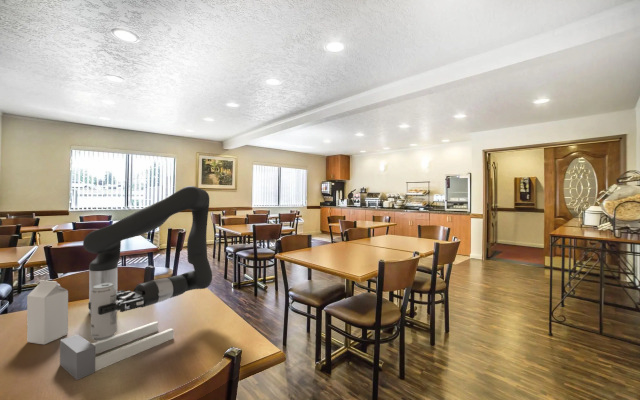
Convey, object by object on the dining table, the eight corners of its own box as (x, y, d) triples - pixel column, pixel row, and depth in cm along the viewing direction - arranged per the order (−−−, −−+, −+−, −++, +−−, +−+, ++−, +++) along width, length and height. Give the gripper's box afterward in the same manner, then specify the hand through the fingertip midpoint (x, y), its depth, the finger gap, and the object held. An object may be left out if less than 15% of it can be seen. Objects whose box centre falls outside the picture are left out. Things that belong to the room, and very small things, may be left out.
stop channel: (60, 364, 80) (60, 339, 80) (155, 329, 102) (155, 309, 102) (76, 380, 74) (76, 352, 74) (174, 338, 96) (174, 317, 96)
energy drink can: (94, 333, 85) (93, 283, 85) (118, 329, 88) (118, 281, 88) (88, 343, 80) (87, 289, 80) (114, 339, 82) (113, 286, 82)
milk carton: (44, 345, 91) (44, 285, 90) (26, 342, 92) (27, 283, 92) (68, 334, 98) (68, 278, 97) (51, 332, 99) (51, 277, 99)
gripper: (143, 277, 100) (83, 290, 85) (166, 284, 92) (104, 300, 78) (143, 298, 100) (83, 315, 86) (166, 307, 92) (104, 328, 78)
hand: (93, 308), depth 82 cm, fingers closed on energy drink can, 6 cm apart
